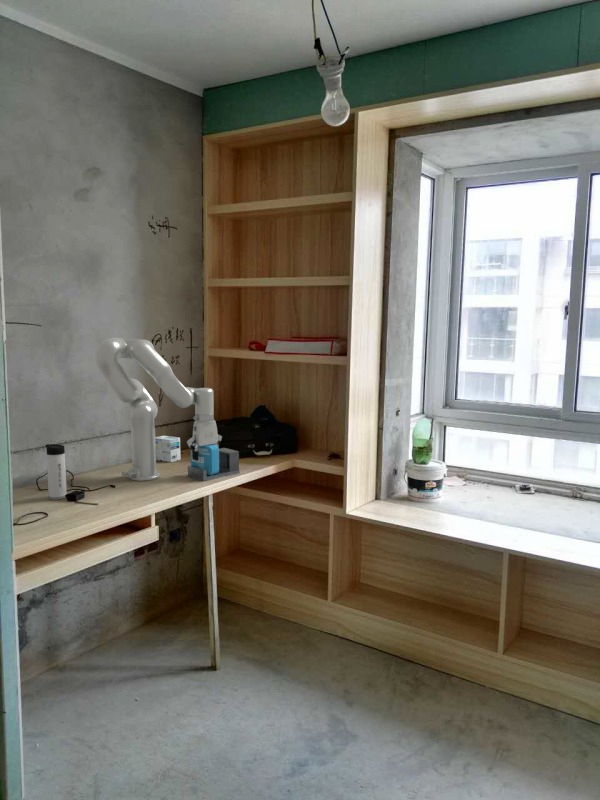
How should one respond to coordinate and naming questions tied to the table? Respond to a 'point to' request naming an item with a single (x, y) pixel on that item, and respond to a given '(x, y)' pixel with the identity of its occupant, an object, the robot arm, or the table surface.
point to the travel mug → (56, 471)
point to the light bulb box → (167, 448)
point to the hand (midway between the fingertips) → (205, 458)
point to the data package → (207, 459)
